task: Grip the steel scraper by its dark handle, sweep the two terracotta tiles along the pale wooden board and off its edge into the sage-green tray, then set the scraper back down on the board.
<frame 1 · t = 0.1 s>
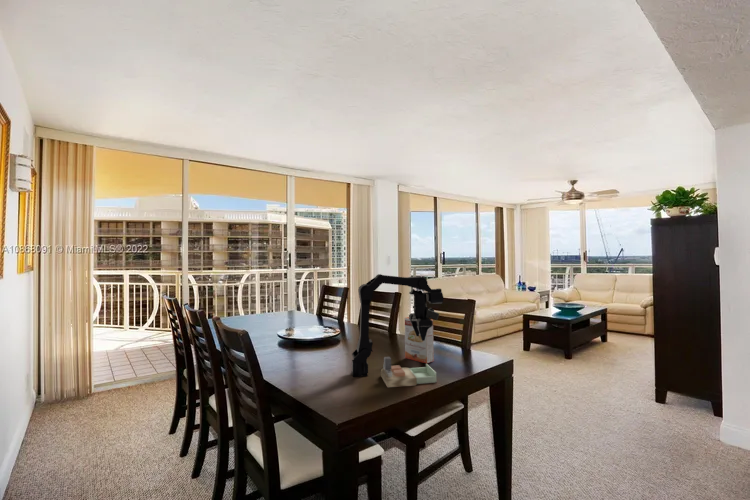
hand: (420, 338, 171), 15 cm above the table, tool pointing down, fingers open, 9 cm apart
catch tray: (422, 377, 161), on the table
cracker box: (419, 360, 187), on the table
tile b: (395, 370, 162), point 3 cm above the table, touching board
scraper: (387, 373, 158), point 3 cm above the table, touching board
board: (398, 380, 158), on the table
tile a: (399, 374, 156), point 3 cm above the table, touching board
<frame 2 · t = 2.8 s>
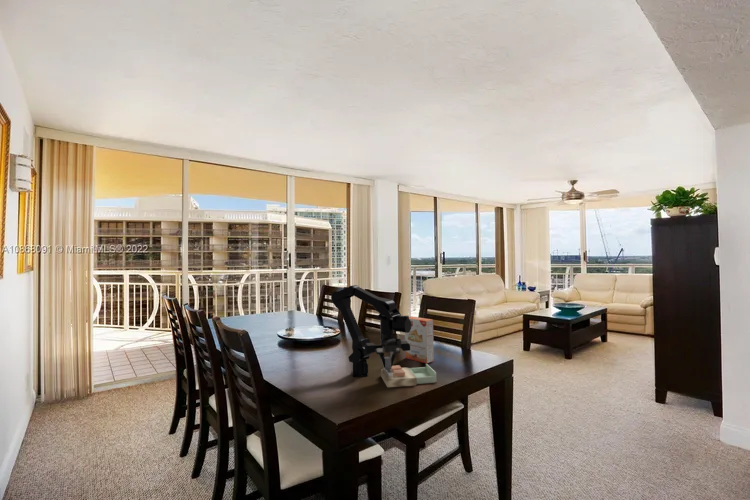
hand: (387, 367, 158), 6 cm above the table, tool pointing down, fingers closed on scraper, 2 cm apart
scraper: (387, 373, 158), point 3 cm above the table, touching board, gripper
everything else where it was.
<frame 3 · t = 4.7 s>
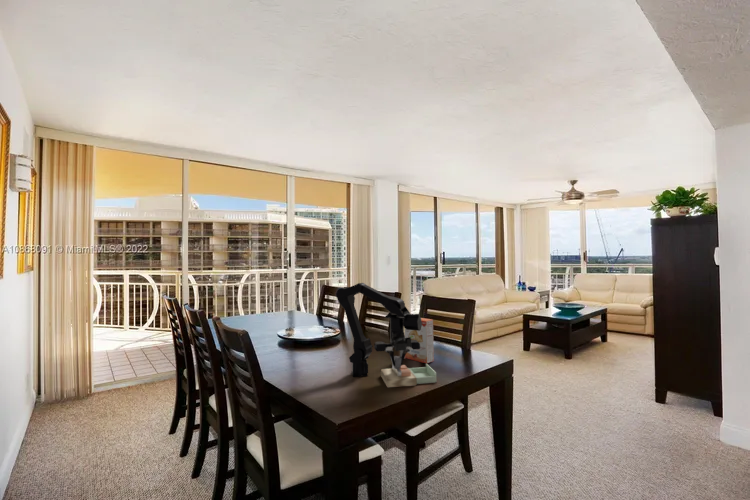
hand: (397, 365, 159), 6 cm above the table, tool pointing down, fingers closed on scraper, 3 cm apart
tile b: (401, 369, 162), point 3 cm above the table
scraper: (396, 372, 159), point 3 cm above the table, tilted 6°, touching gripper, tile a
tile a: (404, 374, 156), point 3 cm above the table, touching scraper
everything else where it was.
when the fingers open (6 cm above the table, at t = 8.4 s): scraper stays where it is and tips over, resting on board.
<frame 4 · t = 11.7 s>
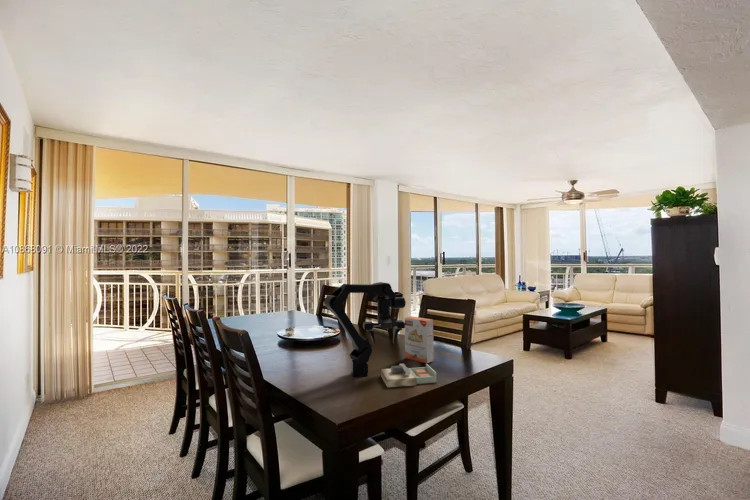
hand: (384, 343, 172), 12 cm above the table, tool pointing down, fingers open, 9 cm apart
tile b: (420, 370, 164), point 2 cm above the table, tilted 180°, touching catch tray
scraper: (406, 369, 159), point 4 cm above the table, tilted 90°, touching board
tile a: (424, 375, 157), point 2 cm above the table, tilted 180°, touching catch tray
everything else where it was.
at the end: tile a inside the target area on the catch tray (3.1 cm from its centre), point 2.1 cm above the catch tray's base; tile b inside the target area on the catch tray (3.1 cm from its centre), point 2.1 cm above the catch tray's base; scraper inside the target area on the board (4.1 cm from its centre), point 4.2 cm above the board's base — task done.
